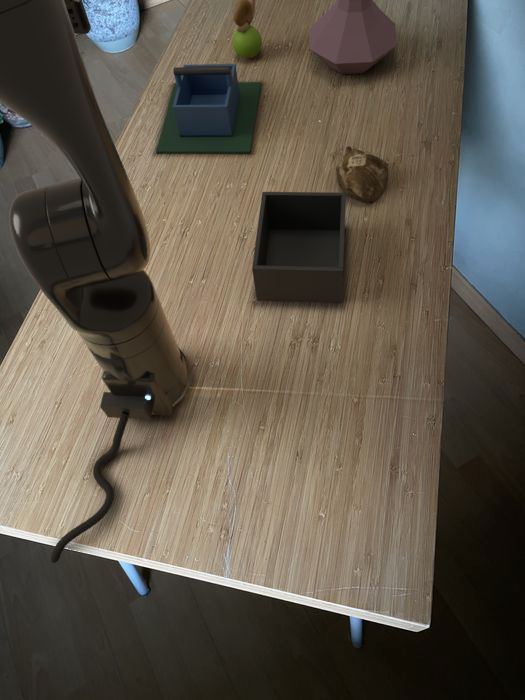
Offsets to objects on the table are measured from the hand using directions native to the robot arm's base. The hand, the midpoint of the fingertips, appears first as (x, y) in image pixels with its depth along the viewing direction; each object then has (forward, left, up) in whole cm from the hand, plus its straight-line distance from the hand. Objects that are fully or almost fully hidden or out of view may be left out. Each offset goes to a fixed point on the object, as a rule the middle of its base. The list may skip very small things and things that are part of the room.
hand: (91, 11), depth 72 cm
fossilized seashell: (0, -34, -28) cm, 44 cm away
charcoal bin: (-16, -26, -28) cm, 41 cm away
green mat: (+16, -8, -28) cm, 33 cm away
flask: (+32, -32, -28) cm, 53 cm away
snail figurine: (+34, -13, -28) cm, 46 cm away
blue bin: (+16, -8, -28) cm, 33 cm away
